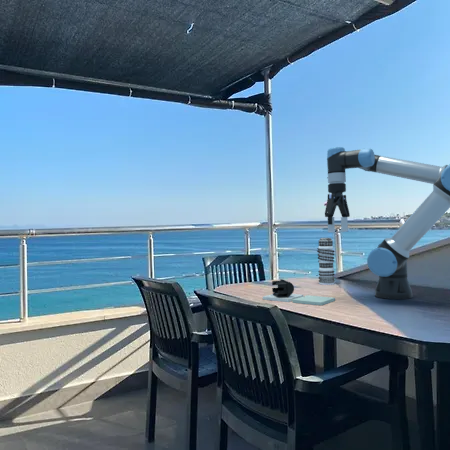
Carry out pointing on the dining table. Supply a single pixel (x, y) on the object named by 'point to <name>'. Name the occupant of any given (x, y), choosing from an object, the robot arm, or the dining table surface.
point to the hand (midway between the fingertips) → (338, 232)
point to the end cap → (282, 288)
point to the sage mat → (313, 300)
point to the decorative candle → (326, 261)
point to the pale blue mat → (286, 299)
